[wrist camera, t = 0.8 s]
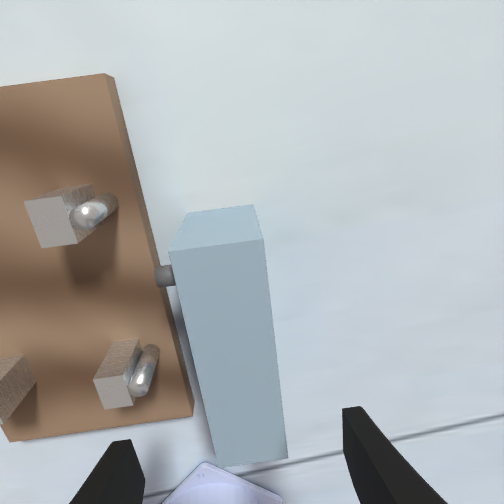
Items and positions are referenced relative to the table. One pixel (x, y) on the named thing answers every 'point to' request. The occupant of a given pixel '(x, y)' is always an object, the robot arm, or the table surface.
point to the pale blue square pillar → (230, 331)
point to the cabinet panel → (79, 263)
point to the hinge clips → (121, 352)
